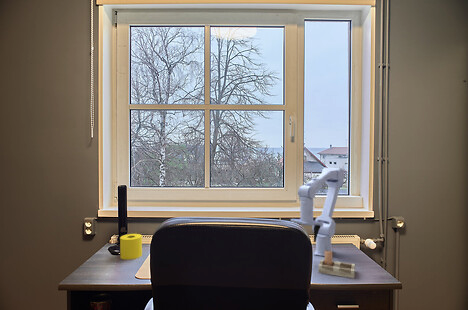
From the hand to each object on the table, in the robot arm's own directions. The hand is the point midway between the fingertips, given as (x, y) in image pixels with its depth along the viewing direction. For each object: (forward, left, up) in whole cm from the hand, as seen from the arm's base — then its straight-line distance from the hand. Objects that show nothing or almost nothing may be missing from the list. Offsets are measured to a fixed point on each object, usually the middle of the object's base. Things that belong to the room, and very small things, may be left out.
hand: (306, 240), depth 139 cm
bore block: (+7, +14, -10) cm, 18 cm away
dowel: (+7, +11, -9) cm, 15 cm away
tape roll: (+27, -80, -10) cm, 85 cm away
